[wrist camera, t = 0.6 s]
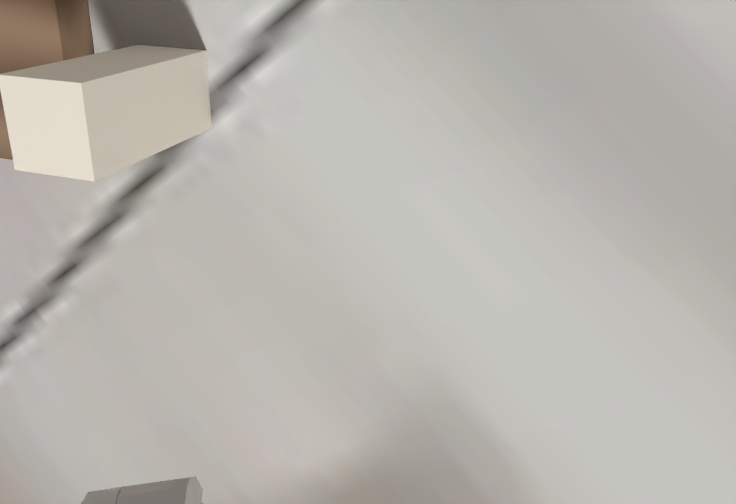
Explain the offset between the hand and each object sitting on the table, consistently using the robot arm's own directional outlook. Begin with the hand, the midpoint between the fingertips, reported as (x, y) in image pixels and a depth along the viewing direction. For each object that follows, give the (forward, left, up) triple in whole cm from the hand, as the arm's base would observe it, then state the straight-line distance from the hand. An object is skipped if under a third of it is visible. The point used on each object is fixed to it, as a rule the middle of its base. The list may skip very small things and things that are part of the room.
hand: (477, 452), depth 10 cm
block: (+3, -25, -32) cm, 41 cm away
